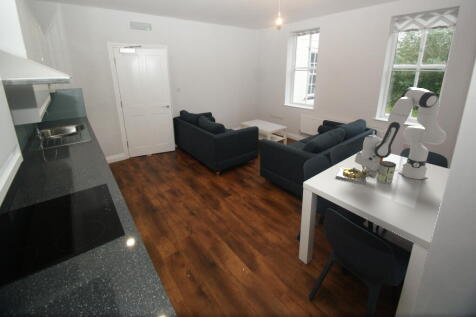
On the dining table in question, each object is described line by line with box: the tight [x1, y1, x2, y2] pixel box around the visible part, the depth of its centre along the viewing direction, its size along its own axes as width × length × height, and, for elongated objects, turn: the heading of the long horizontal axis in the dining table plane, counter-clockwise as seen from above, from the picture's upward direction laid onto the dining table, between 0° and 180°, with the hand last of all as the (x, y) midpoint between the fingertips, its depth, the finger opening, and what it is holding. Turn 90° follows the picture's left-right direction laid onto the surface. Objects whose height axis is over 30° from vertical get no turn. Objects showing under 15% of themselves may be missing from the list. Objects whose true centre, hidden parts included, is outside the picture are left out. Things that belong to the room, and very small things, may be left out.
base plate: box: [335, 166, 367, 185], centre depth 184 cm, size 20×20×6 cm
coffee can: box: [376, 160, 397, 184], centre depth 175 cm, size 10×10×14 cm
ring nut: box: [343, 167, 370, 178], centre depth 182 cm, size 13×18×4 cm
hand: (364, 171), depth 185 cm, fingers closed
